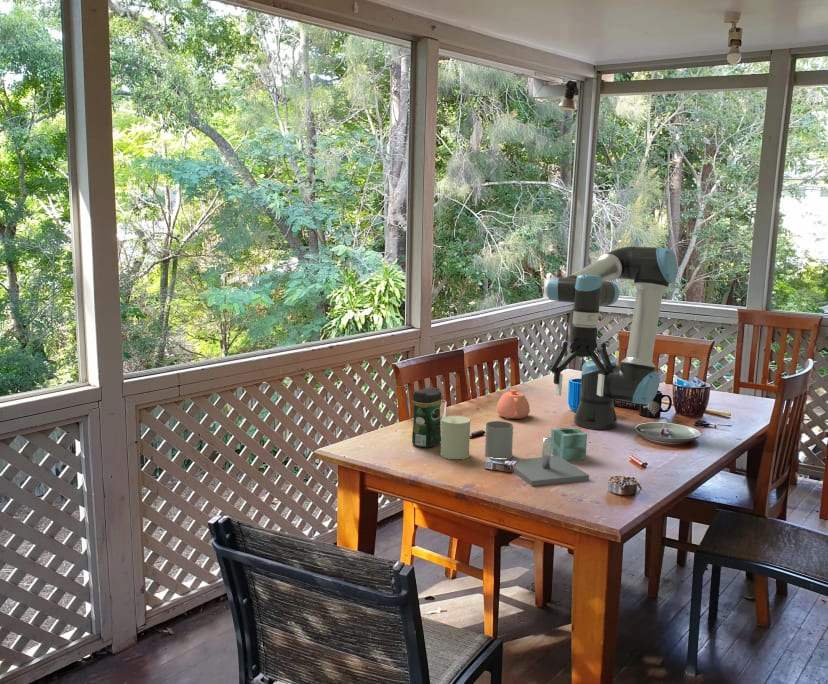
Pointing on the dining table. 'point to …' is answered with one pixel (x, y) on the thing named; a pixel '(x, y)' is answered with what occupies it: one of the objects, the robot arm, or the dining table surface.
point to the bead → (568, 443)
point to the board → (548, 471)
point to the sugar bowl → (513, 405)
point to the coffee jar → (426, 417)
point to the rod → (546, 452)
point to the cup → (499, 439)
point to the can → (455, 437)
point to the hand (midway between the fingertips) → (579, 395)
